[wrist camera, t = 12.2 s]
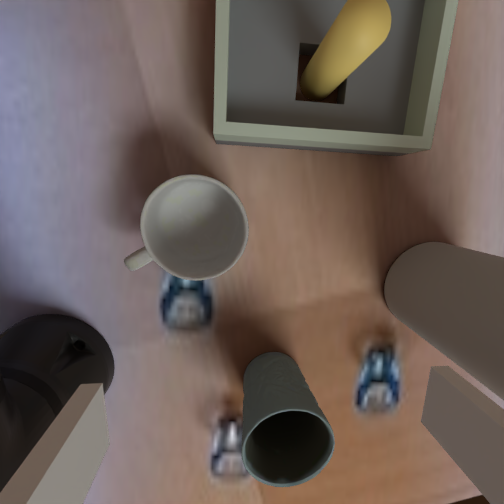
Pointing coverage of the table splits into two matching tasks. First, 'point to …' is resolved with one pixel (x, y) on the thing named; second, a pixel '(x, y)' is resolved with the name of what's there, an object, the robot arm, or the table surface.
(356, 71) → the box
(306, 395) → the grey-green cup
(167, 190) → the teacup
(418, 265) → the cylinder vase
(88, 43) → the table surface
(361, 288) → the table surface
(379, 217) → the table surface
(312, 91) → the peg
